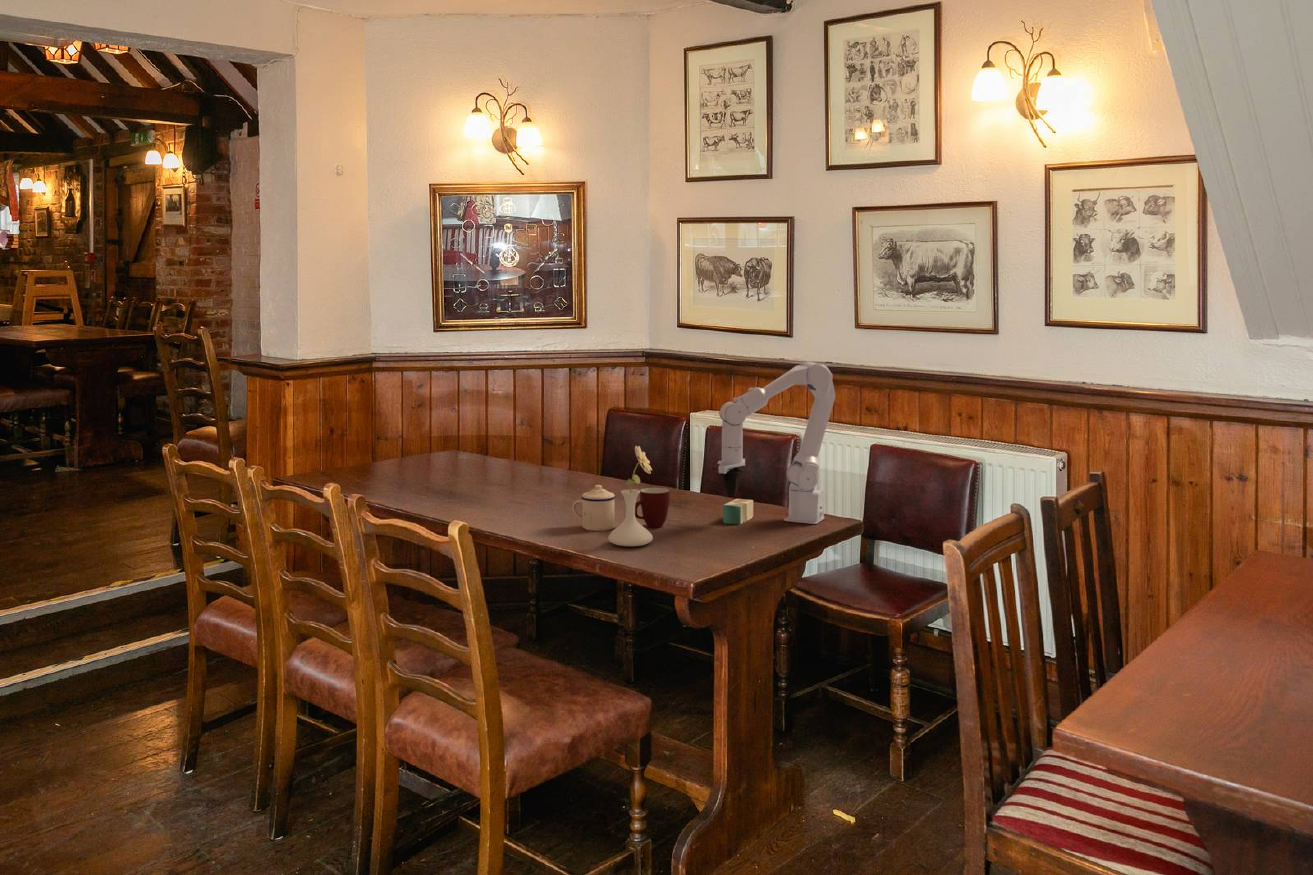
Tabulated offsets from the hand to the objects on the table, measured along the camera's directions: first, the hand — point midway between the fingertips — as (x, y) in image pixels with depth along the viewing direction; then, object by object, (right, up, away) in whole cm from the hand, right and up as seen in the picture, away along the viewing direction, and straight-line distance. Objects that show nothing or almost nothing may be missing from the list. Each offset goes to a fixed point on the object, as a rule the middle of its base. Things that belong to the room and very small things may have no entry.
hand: (731, 495), depth 300 cm
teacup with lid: (-38, -9, -3) cm, 39 cm away
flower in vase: (-27, -11, -22) cm, 36 cm away
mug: (-22, -9, -3) cm, 24 cm away
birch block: (0, -5, +1) cm, 6 cm away
